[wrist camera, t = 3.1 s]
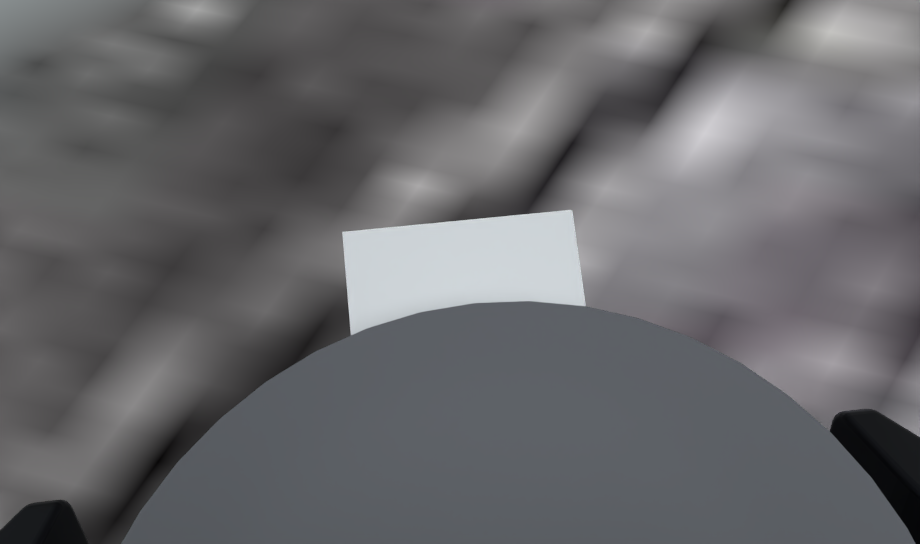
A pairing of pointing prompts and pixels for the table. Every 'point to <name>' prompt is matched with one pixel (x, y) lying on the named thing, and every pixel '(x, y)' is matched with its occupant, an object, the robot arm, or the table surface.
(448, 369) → the plug
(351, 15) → the table surface
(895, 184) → the table surface
